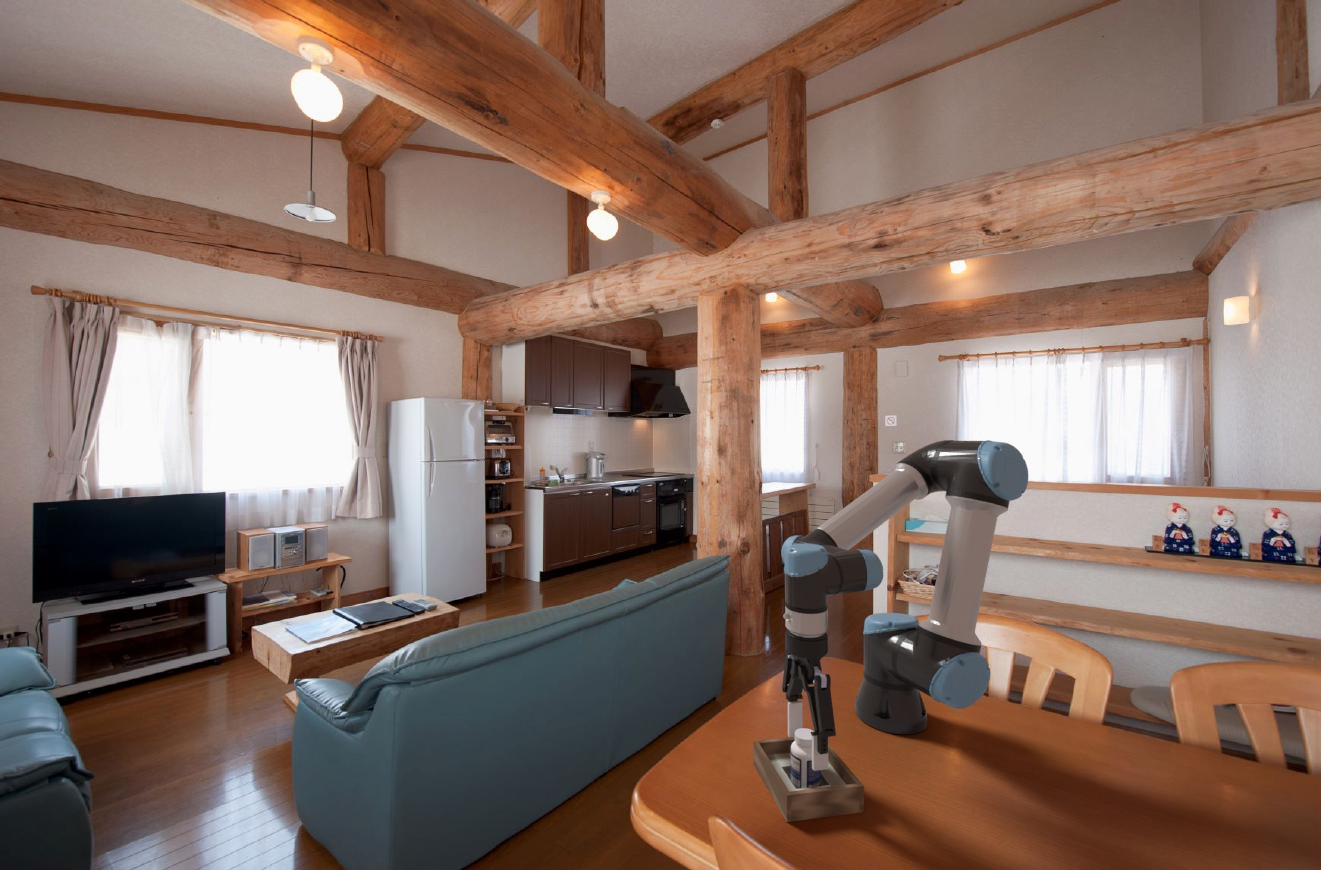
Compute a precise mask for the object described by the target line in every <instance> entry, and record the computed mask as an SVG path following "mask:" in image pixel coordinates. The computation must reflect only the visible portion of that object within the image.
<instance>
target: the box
mask: <svg viewBox="0 0 1321 870" xmlns="http://www.w3.org/2000/svg"><path fill="white" fill-rule="evenodd" d="M794 741H795V737H790V738H789V737H782V738H781V737H780V738H771V739H763V740H753V755H752V756H753V762H752V763H753V766H754V768H755V770H756V771H757V772H758V775H759V776H760V779H761V780H762V782H763V784H764V785H765V787H766V789H767V790H768V792H769V794H770V795H771V797H772V798H773V801H774V803H775V804H776V806H777V807H778V809H779V811H780V813H781V815H782V817H783V818H784V820H785V822H786V823H791V822H797V821H806V820H813V819H822V818H828V817H836V816H843V815H844V816H845V815H851V814H859V813H864V812H865V811H864V809H865V808H864V805H865V804H864V803H865V802H864V801H865V799H864V798H865V795H864V794H865V785H863V783H862V782H861V781H860V780H859V778H858V777H857V776H856V775H855V774H854V772H853V771H852V770H851V769H850V767H848V765H847V764H846V763H845V762H844V761H843V759H841V757H840V756H839V754H837V752H836V751H835V749H833V748H832V746H831V745H830V744H829V743H828V769H825V770H821V786H816V787H808V788H800V789H796V788H795V787H794V785H793V784H792V782H791V778H790V777H791V745H792V743H793V742H794Z"/></svg>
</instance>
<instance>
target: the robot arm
mask: <svg viewBox="0 0 1321 870" xmlns="http://www.w3.org/2000/svg"><path fill="white" fill-rule="evenodd" d="M1028 485H1029V468H1028V465H1027V461H1026V459H1024V456H1023V454H1022V453H1021V452H1020V450H1019V449H1018V448H1017V447H1016V446H1014V445H1012V444H1010V443H1008V442H1003V441H993V440H954V439H953V440H951V439H946V440H944V439H943V440H939V441H936V442H932V443H930V444H927V445H925V446H923V447H921V448H918V449H916V450H915V451H913V452H912V453H910V454H907V456H905V457H904V458H902V459H900V460H899V461H898V462H896V464H894V465H893V466H892V467H891V469H890V473H889V474H888V475H887V476H885V477H884V478H883V479H881V480H880V481H878V482H877V483H876V484H875V485H873V486H871V488H869V489H868V490H867V491H865V492H864V493H862V494H861V495H860V496H858V497H857V498H855V499H854V500H853V501H852V502H850V503H849V504H848V505H846V506H844V508H842V509H841V510H839V511H838V512H836V513H835V514H834V515H833V516H831V517H829V519H826V521H824V522H823V523H822V524H821V525H819V526H818V527H816V528H815V529H814V530H812V531H811V532H809V533H807V535H805V536H804V535H796V534H795V535H792V536H789V537H788V538H787V539H786V540H785V541H784V542H783V545H782V546H781V553H780V554H781V559H782V562H783V563H784V566H783V572H784V602H785V607H784V608H785V612H784V614H783V616H782V617H783V619H784V620H785V621H784V622H785V628H786V630H785V634H784V636H785V637H784V638H785V640H784V641H785V642H784V644H785V645H784V646H785V647H784V651H785V660H784V667H783V674H782V675H783V677H782V684H781V691H782V692H783V693H784V694H785V699H786V701H787V736H788V738H790V737H795V731H796V730H797V729H800V728H803V701H802V700H803V699H804V695H803V694H802V693H803V691H804V692H805V693H806V695H807V701H808V706H809V710H810V716H811V721H812V726H813V731H812V732H811V735H812V769H813V770H814V771H817V770H825V769H828V744H829V737H836V736H837V735H836V734H837V733H836V731H837V730H836V724H835V716H834V715H835V714H834V708H833V700H832V699H833V698H832V691H831V682H832V679H831V675H830V674H829V673H828V674H827V673H826V674H825V673H823V670H822V665H821V664H822V663H821V661H822V659H823V658H824V657H825V656H827V654H828V649H829V648H828V647H829V643H828V641H829V639H828V638H829V637H828V633H827V631H828V630H829V617H828V614H829V613H828V612H829V609H828V604H829V603H828V602H829V601H828V600H829V597H830V596H836V595H843V594H844V595H845V594H852V593H858V592H860V593H861V592H862V593H864V592H865V591H869V590H874V589H876V588H878V587H879V586H880V585H881V584H882V582H883V578H884V565H883V563H882V561H881V559H880V557H879V556H878V555H877V554H876V553H875V552H874V551H872V550H870V549H859V548H857V549H855V550H851V549H852V548H854V546H856V545H857V544H858V543H860V542H861V541H862V540H863V539H865V538H867V537H868V536H869V535H870V534H871V533H873V532H874V531H875V530H876V529H878V528H879V527H881V526H882V525H883V524H884V523H885V522H887V521H888V520H889V519H891V518H892V517H894V516H895V515H897V514H898V513H899V512H900V511H901V510H903V509H904V508H905V507H907V506H908V505H909V504H910V503H912V502H913V501H914V500H917V501H919V500H923V499H925V498H926V497H928V496H929V495H930V494H933V493H938V492H945V495H944V496H945V497H944V499H945V500H946V501H947V503H948V504H949V505H950V511H949V517H948V521H947V526H946V531H945V534H944V535H945V536H944V540H943V546H942V550H941V554H940V555H941V556H940V559H939V564H938V569H937V576H936V579H935V580H936V581H935V585H934V588H933V595H932V599H931V605H930V609H929V613H928V617H927V618H926V619H925V620H922V621H920V620H919V618H917V617H916V616H914V615H911V614H906V613H900V612H898V613H897V612H877V613H874V614H870V615H868V616H866V618H865V619H864V623H863V624H864V627H863V632H862V633H863V635H862V636H863V637H862V639H863V677H862V678H863V679H862V681H861V683H860V687H859V690H858V693H857V695H856V697H855V703H854V707H855V708H854V712H855V714H856V716H857V717H858V718H859V720H860V721H862V722H863V723H864V724H866V725H867V726H870V727H872V728H874V729H876V730H879V731H882V732H886V733H890V734H896V735H914V734H919V733H921V732H923V731H925V730H926V729H927V726H928V713H927V709H926V706H925V702H924V700H923V696H922V694H921V693H924V694H925V695H927V696H929V697H930V698H932V699H933V700H934V701H935V702H937V703H942V704H944V705H946V706H947V707H950V708H952V709H955V710H956V709H960V710H961V709H966V708H969V707H971V706H973V705H974V704H975V703H976V702H978V701H980V699H981V698H982V697H983V696H984V694H985V692H986V691H987V688H988V686H989V684H990V680H991V669H990V667H989V666H990V665H989V662H988V660H987V659H986V657H984V656H983V655H982V654H981V649H982V641H981V640H980V638H979V637H978V636H977V634H976V628H977V623H978V619H979V618H978V617H979V613H980V608H981V603H982V598H983V593H984V587H985V582H986V577H987V574H988V573H987V572H988V568H989V562H990V557H991V552H992V547H993V541H994V537H995V531H996V526H997V521H998V518H999V516H1000V515H1002V514H1004V513H1006V512H1008V510H1009V505H1010V501H1011V502H1012V501H1015V500H1018V499H1020V498H1021V497H1022V496H1023V494H1024V493H1025V492H1026V491H1027V488H1028ZM810 685H811V686H810ZM812 685H813V686H812Z"/></svg>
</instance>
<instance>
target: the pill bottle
mask: <svg viewBox="0 0 1321 870" xmlns="http://www.w3.org/2000/svg"><path fill="white" fill-rule="evenodd" d="M812 731H814V729H810V728H808V727H807V728H800V729H797V730H796V731H795V741H794V742H793V743H792V745H791V776H790V781H791V782H792V784H793V785H794V787H795V788H796V789H800V788H808V787H816V786H822V785H821V770H817V771H814V770H813V769H812V735H811V732H812Z"/></svg>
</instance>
